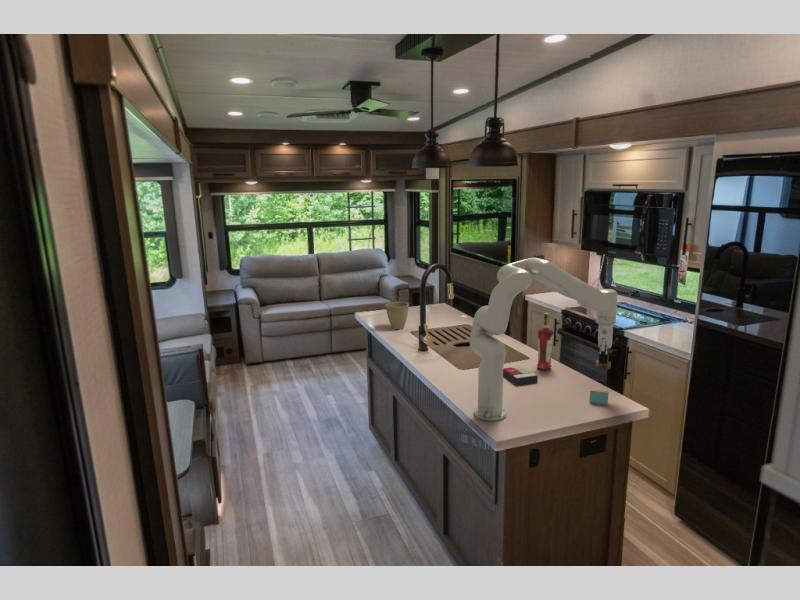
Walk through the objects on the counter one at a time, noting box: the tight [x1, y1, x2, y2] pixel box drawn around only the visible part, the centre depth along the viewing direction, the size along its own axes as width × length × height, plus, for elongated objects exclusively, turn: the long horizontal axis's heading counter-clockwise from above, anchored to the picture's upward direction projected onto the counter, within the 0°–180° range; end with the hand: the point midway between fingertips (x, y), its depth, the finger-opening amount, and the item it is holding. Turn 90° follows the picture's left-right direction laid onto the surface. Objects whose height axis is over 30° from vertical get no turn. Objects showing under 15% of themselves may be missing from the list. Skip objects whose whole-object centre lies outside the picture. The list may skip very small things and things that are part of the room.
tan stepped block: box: [595, 346, 612, 370], centre depth 209 cm, size 3×6×12 cm, turn 64°
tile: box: [588, 388, 610, 406], centre depth 207 cm, size 2×7×6 cm, turn 64°
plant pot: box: [385, 301, 410, 330], centre depth 322 cm, size 15×15×16 cm
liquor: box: [536, 312, 554, 371], centre depth 245 cm, size 7×7×28 cm
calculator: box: [503, 365, 539, 387], centre depth 236 cm, size 11×4×15 cm
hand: (603, 361), depth 210 cm, fingers closed on tan stepped block, 3 cm apart
